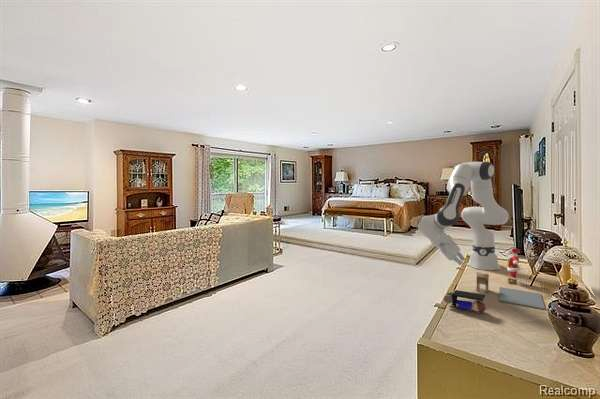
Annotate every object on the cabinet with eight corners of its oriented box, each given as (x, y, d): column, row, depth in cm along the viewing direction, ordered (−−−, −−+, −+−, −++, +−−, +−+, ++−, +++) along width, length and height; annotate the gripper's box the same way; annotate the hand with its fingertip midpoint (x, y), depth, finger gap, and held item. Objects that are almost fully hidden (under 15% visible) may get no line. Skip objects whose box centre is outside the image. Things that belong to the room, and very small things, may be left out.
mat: (499, 288, 145) (499, 287, 145) (540, 294, 135) (540, 293, 135) (498, 301, 129) (498, 300, 129) (544, 309, 119) (545, 308, 119)
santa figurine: (506, 275, 165) (506, 243, 164) (519, 276, 161) (519, 244, 160) (507, 288, 144) (507, 252, 143) (521, 290, 141) (522, 253, 140)
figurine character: (444, 310, 124) (484, 316, 114) (442, 293, 125) (482, 297, 115) (448, 305, 130) (487, 310, 120) (446, 288, 130) (485, 292, 120)
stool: (476, 287, 146) (476, 271, 146) (488, 289, 143) (489, 273, 143) (476, 290, 142) (476, 274, 142) (488, 292, 139) (488, 276, 139)
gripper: (443, 241, 143) (465, 263, 137) (449, 235, 159) (469, 254, 154) (433, 249, 146) (455, 270, 140) (441, 242, 162) (460, 261, 157)
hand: (462, 262), depth 147 cm, fingers open, 8 cm apart
